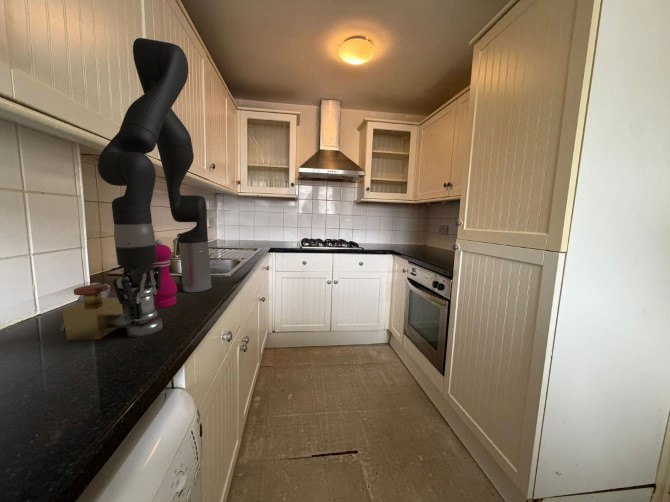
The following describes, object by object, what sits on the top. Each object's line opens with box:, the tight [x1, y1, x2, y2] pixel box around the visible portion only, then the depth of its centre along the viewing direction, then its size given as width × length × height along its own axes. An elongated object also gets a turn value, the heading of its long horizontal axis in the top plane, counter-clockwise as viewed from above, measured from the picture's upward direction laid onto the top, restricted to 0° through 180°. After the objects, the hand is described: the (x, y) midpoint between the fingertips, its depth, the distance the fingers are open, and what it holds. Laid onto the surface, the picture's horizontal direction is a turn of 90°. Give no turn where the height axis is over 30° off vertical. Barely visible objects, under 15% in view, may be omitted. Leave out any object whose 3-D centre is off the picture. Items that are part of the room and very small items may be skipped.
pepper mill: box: [152, 238, 178, 309], centre depth 82 cm, size 7×7×20 cm
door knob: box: [131, 287, 158, 322], centre depth 65 cm, size 5×5×7 cm
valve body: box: [61, 283, 163, 341], centre depth 65 cm, size 8×18×11 cm, turn 94°
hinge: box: [60, 282, 112, 332], centre depth 74 cm, size 17×5×10 cm, turn 27°
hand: (144, 313), depth 66 cm, fingers closed on door knob, 5 cm apart
